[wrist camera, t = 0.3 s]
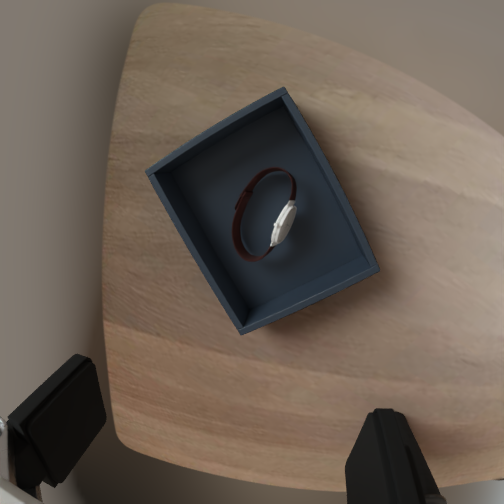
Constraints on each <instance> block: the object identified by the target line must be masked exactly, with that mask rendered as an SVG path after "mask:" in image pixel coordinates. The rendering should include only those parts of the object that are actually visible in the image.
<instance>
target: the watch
mask: <svg viewBox="0 0 504 504" xmlns="http://www.w3.org/2000/svg"><path fill="white" fill-rule="evenodd" d="M274 171H283V172H285V173H287V174H288V176H289V177H290V180H291V185H292V186H291V195H290V198H289V202H288V204H287V205H286V206H285V207H284V208H283V210H282V212H281V213H280V215H279V217H278V219H277V221H276V223H274V229H273V232H272V237H271V241H272V243H271V245H270V246H269V248H268V250H267V252H266V253H265V254H264V255H262V256H254V255H252V254H250V253H249V252H248V251H247V250H246V249H245V247H244V245H243V243H242V239H241V231H240V227H241V220H242V217H243V213H244V211H245V208H246V206H247V203H248V201H249V199H250V198H251V196H252V194H253V189H254V188H255V186H256V185H257V183H258V182H259V181H260V180H261V179H262V178H263V177H264V176H265V175H267V174H269V173H271V172H274ZM296 191H297V186H296V181H295V179H294V177H293V176H292V175H291V174H290V173H289V172H288V171H286V170H285V169H283V168H280V167H269V168H266V169H263V170H262V171H260V172H259V173H257V174H256V175H255V176H254V177H253V178H252V179H251V181H250V182H249V183H248V184H247V186H246V187H245V188H244V190H243V191H242V193H241V194H240V197H239V199H238V201H237V203H236V205H235V210H236V212H235V214H234V217H233V222H232V232H231V233H232V241H233V245H234V248H235V250H236V252H237V253H238V255H239V256H240V257H241V258H242V259H244V260H245V261H248V262H256V261H259V260H260V259H262V258H264V257H265V256H266V255H268V254H269V253H270V252H271V251H272V250H273V249H274V247H275V246H276V245H277V244H279V243H281V242H282V241H283V240H284V238H285V237H286V235H287V234H288V232H289V230H290V228H291V226H292V223H293V221H294V218H295V215H296V210H297V208H296V206H294V203H295V198H296Z"/></svg>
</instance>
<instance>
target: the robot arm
mask: <svg viewBox="0 0 504 504" xmlns="http://www.w3.org/2000/svg"><path fill="white" fill-rule="evenodd" d="M8 419H9V420H8V421H7V422H5V420H4V419H3V418H2V417H0V504H44V503H43V502H42V496H41V490H40V483H41V482H42V481H43V482H45V483H47V484H49V485H50V486H52V487H54V488H55V487H56V486H57V484H58V483H62V482H63V481H64V480H65V479H66V477H67V476H68V475H69V473H70V472H71V470H72V469H73V468H74V466H75V465H76V463H77V462H78V460H79V459H80V458H81V456H82V455H83V454H84V452H85V451H86V449H87V448H88V447H89V445H90V444H91V442H92V441H93V439H94V438H95V437H96V435H97V434H98V433H99V431H100V430H101V429H102V427H103V426H104V424H105V422H106V412H105V408H104V404H103V400H102V395H101V392H100V387H99V382H98V377H97V372H96V367H95V365H94V364H93V363H92V360H91V359H90V358H88V357H85V356H82V355H79V354H75V355H73V356H72V357H71V358H70V359H69V360H68V361H67V362H66V363H64V364H63V365H62V366H61V367H60V368H59V369H58V370H57V371H56V372H54V373H53V374H52V375H51V376H50V377H49V378H48V379H47V380H46V381H45V382H44V383H43V384H42V385H40V386H39V387H38V388H37V389H36V390H35V391H34V392H33V393H32V394H31V395H30V396H29V397H28V398H27V399H26V400H25V401H24V402H22V404H20V405H19V406H18V407H17V408H16V409H15V410H14V411H13V412H12V413H11V414H10V415H9V416H8ZM345 476H346V489H347V504H426V500H425V496H424V493H423V489H422V485H421V481H420V478H419V474H418V470H417V467H416V463H415V460H414V457H413V453H412V450H411V448H410V447H409V446H408V445H404V443H403V439H402V436H401V432H400V429H399V426H398V423H397V419H396V416H395V413H394V410H393V409H381V408H377V409H375V410H374V411H373V413H368V415H367V418H366V420H365V422H364V425H363V427H362V429H361V431H360V434H359V436H358V438H357V440H356V442H355V445H354V447H353V449H352V451H351V453H350V455H349V457H348V459H347V462H346V465H345Z"/></svg>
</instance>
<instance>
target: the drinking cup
mask: <svg viewBox="0 0 504 504" xmlns="http://www.w3.org/2000/svg"><path fill="white" fill-rule="evenodd" d="M394 413H395V416H396V419H397V423H398V426H399V429H400V432H401V436H402V439H403V443H404V445H408V446H409V447H410V448H411V450H412V453H413V457H414V460H415V463H416V467H417V470H418V474H419V478H420V481H421V485H422V489H423V493H424V496H425V500H426V504H447V502H446V499H445V498H444V496H442V495H441V494H440V492H439V489H438V487H437V485H436V483H435V480H434V478H433V476H432V474H431V471H430V469H429V467H428V465H427V463H426V460H425V458H424V456H423V454H422V452H421V450H420V447H419V445H418V443H417V441H416V439H415V437H414V435H413V433H412V431H411V428H410V426H409V424H408V422H407V420H406V418H405V416H404V415H403V414H401V413H399V412H394Z"/></svg>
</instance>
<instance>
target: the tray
mask: <svg viewBox="0 0 504 504" xmlns="http://www.w3.org/2000/svg"><path fill="white" fill-rule="evenodd" d="M269 167H280V168H283V169H285V170H286V171H288V172H289V173H290V174H291V175H292V176H293V177H294V179H295V181H296V186H297V191H296V198H295V203H294V206H296V208H297V210H296V215H295V218H294V221H293V223H292V226H291V228H290V230H289V232H288V234H287V235H286V237H285V238H284V240H283V241H282V242H281V243H279V244H277V245H276V246H275V247H274V249H273V250H272V251H271V252H270V253H269V254H268V255H266V256H265V257H264V258H262V259H260V260H259V261H256V262H248V261H245V260H244V259H242V258H241V257H240V256H239V255H238V253H237V252H236V250H235V248H234V245H233V241H232V233H231V232H232V222H233V217H234V214H235V212H236V210H235V205H236V203H237V201H238V199H239V197H240V194H241V193H242V191H243V190H244V188H245V187H246V186H247V184H248V183H249V182H250V181H251V179H252V178H253V177H254V176H255V175H256V174H257V173H259V172H260V171H262V170H263V169H266V168H269ZM145 172H146V174H147V176H148V178H149V180H150V182H151V184H152V185H153V187H154V189H155V191H156V193H157V195H158V196H159V198H160V200H161V202H162V204H163V205H164V207H165V209H166V211H167V213H168V214H169V216H170V218H171V220H172V221H173V223H174V225H175V227H176V228H177V230H178V232H179V234H180V235H181V237H182V239H183V241H184V242H185V244H186V246H187V248H188V249H189V251H190V253H191V254H192V256H193V258H194V260H195V261H196V263H197V265H198V266H199V268H200V270H201V271H202V273H203V275H204V276H205V278H206V280H207V281H208V283H209V285H210V286H211V288H212V290H213V291H214V293H215V295H216V296H217V298H218V300H219V301H220V303H221V304H222V306H223V308H224V309H225V311H226V313H227V314H228V316H229V317H230V319H231V321H232V322H233V324H234V325H235V327H236V329H237V330H238V332H239V333H240V335H244V334H246V333H248V332H251V331H253V330H256V329H258V328H260V327H262V326H265V325H267V324H269V323H272V322H274V321H276V320H278V319H281V318H283V317H285V316H287V315H290V314H292V313H294V312H296V311H299V310H301V309H303V308H305V307H307V306H309V305H312V304H314V303H316V302H318V301H320V300H322V299H324V298H326V297H329V296H331V295H333V294H335V293H337V292H339V291H341V290H343V289H345V288H347V287H349V286H351V285H353V284H355V283H357V282H359V281H361V280H363V279H365V278H367V277H369V276H371V275H373V274H375V273H377V272H379V271H380V268H379V266H378V264H377V261H376V259H375V257H374V254H373V252H372V250H371V248H370V245H369V243H368V241H367V239H366V237H365V234H364V232H363V230H362V228H361V226H360V224H359V222H358V220H357V217H356V215H355V213H354V211H353V209H352V207H351V205H350V203H349V201H348V199H347V197H346V195H345V193H344V191H343V189H342V187H341V185H340V183H339V181H338V179H337V177H336V176H335V174H334V172H333V170H332V168H331V166H330V164H329V162H328V160H327V159H326V157H325V155H324V153H323V151H322V150H321V148H320V146H319V144H318V142H317V141H316V139H315V137H314V135H313V134H312V132H311V130H310V128H309V127H308V125H307V123H306V121H305V120H304V118H303V116H302V115H301V113H300V111H299V110H298V108H297V106H296V105H295V103H294V101H293V100H292V98H291V97H290V95H289V94H288V92H287V90H286V89H285V87H282V88H280V89H278V90H276V91H274V92H272V93H270V94H268V95H266V96H264V97H263V98H261V99H259V100H257V101H255V102H253V103H252V104H250V105H248V106H246V107H244V108H243V109H241V110H239V111H237V112H236V113H234V114H232V115H230V116H229V117H227V118H225V119H224V120H222V121H220V122H219V123H217V124H215V125H214V126H212V127H210V128H209V129H207V130H205V131H204V132H202V133H201V134H199V135H197V136H196V137H194V138H193V139H191V140H190V141H188V142H187V143H185V144H183V145H182V146H180V147H179V148H177V149H176V150H174V151H173V152H171V153H170V154H168V155H167V156H165V157H164V158H162V159H161V160H160V161H158V162H157V163H155V164H154V165H152V166H151V167H149V168H148V169H147V170H145ZM291 186H292V185H291V180H290V177H289V176H288V174H287V173H285V172H283V171H274V172H271V173H269V174H267V175H265V176H264V177H263V178H262V179H261V180H260V181H259V182H258V183H257V185H256V186H255V188H254V189H253V194H252V196H251V198H250V199H249V201H248V203H247V206H246V208H245V211H244V213H243V217H242V220H241V227H240V231H241V239H242V243H243V245H244V247H245V249H246V250H247V251H248V252H249V253H250V254H252V255H254V256H262V255H264V254H265V253H266V252H267V250H268V248H269V246H270V245H271V243H272V241H271V237H272V232H273V229H274V223H276V221H277V219H278V217H279V215H280V213H281V212H282V210H283V208H284V207H285V206H286V205H287V204H288V202H289V198H290V195H291Z"/></svg>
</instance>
